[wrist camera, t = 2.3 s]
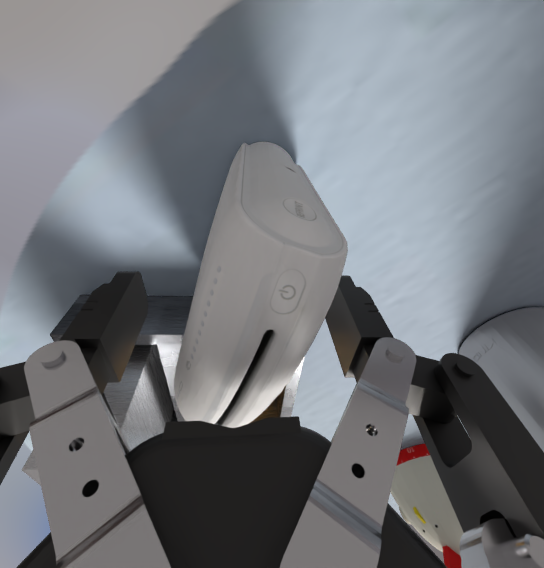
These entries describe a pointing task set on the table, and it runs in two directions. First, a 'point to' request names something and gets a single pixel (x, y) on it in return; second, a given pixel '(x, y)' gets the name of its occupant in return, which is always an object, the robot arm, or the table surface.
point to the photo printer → (257, 289)
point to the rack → (155, 375)
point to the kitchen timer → (427, 502)
